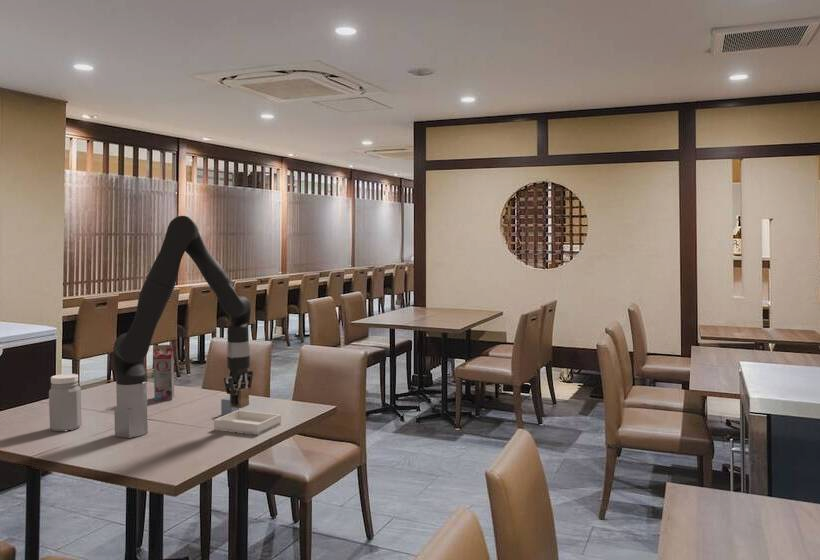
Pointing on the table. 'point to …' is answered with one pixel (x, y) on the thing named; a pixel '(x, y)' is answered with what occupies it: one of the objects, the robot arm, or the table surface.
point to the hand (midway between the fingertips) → (239, 403)
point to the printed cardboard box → (163, 372)
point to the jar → (65, 402)
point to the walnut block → (241, 398)
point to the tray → (247, 422)
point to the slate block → (227, 406)
